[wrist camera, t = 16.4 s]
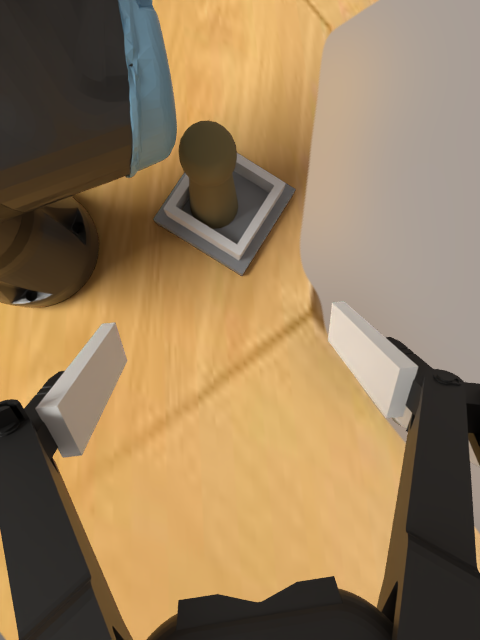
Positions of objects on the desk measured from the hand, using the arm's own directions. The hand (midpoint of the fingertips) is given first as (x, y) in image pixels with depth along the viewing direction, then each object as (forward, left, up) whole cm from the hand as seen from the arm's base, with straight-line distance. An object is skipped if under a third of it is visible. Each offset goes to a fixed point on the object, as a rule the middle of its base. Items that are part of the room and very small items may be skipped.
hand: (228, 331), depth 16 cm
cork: (-10, +13, -16) cm, 23 cm away
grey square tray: (-9, +14, -17) cm, 24 cm away
